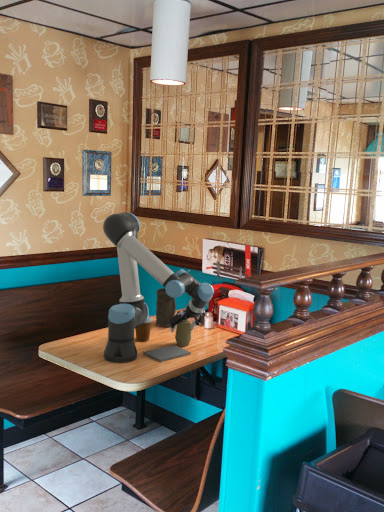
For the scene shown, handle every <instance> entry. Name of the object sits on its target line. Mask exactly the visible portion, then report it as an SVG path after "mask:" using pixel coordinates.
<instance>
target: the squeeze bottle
mask: <svg viewBox="0 0 384 512" xmlns="http://www.w3.org/2000/svg"><path fill="white" fill-rule="evenodd" d="M185 310H186V308H183V310H182V312H184V311H185ZM185 318H186V317H185ZM191 323H192V322H191V321H190V318H188V319H187V320H184V321H182V322H180V323H179V324H177V325H176V326H177V327H176V328H175V335H174V339H175V343H176V346H178V347H179V346H180V347H187V346H189V345H190V343H191V340H192V331H191Z"/></svg>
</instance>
